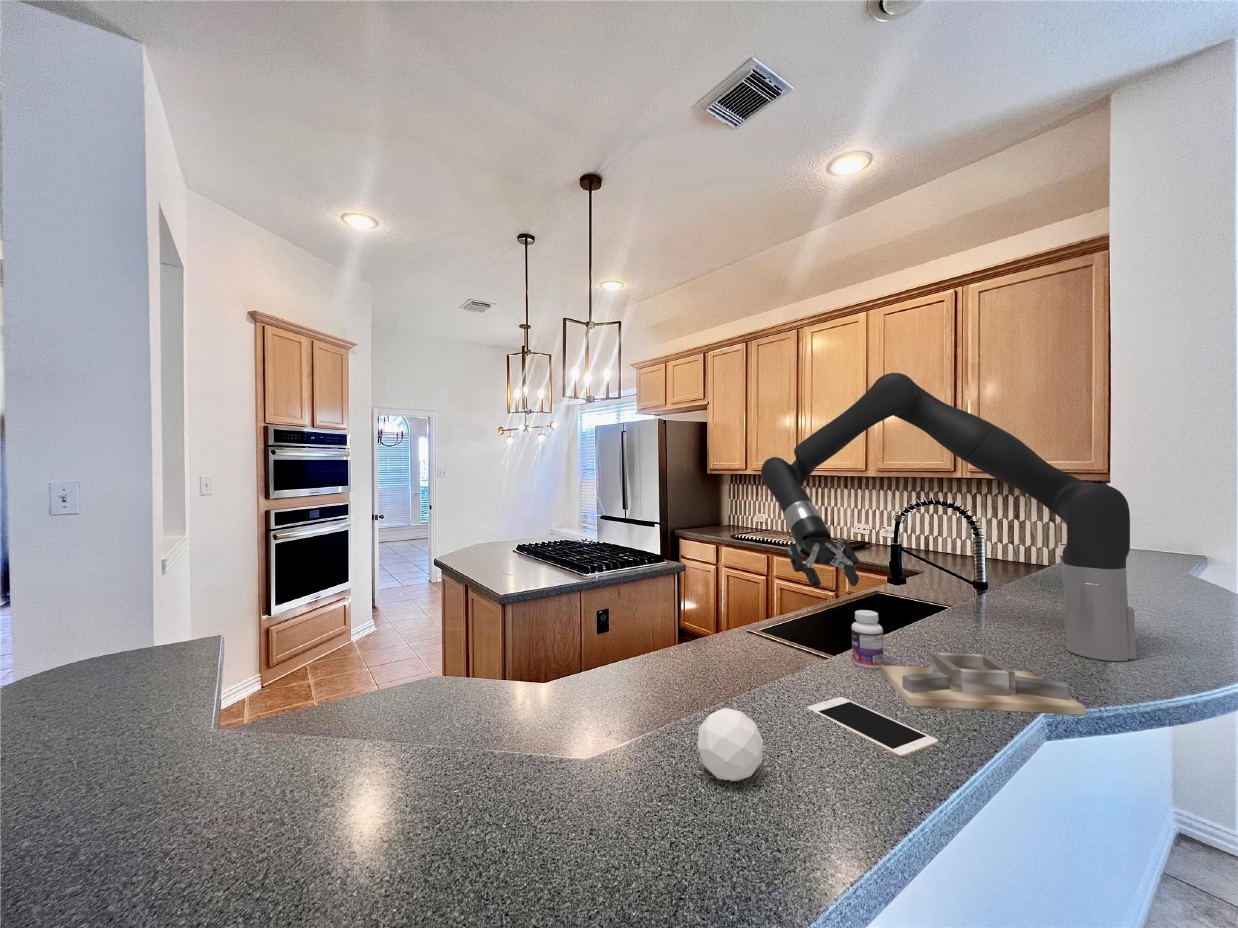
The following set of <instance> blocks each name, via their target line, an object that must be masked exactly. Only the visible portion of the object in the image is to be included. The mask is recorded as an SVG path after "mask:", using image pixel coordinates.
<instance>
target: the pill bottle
mask: <svg viewBox="0 0 1238 928" xmlns="http://www.w3.org/2000/svg"><path fill="white" fill-rule="evenodd" d="M854 619H855V620H856V621H854V622H853V623H852V624H851V649H852V651H851V653H852V654H851V655H852V656H851V657H852V662H853V664H854V665H855V666H857V667H860V668H864V669H869V670H870V669H871V670H876V669H880V666H885V660H884V659H885V657H884V655H885V654H884V652H885V651H884V629H883V627H882V625H880V623H878V622H879V619H880V618H879V613H878V612H876V611H873V610H867V609H865V610H864V609H859V610H858V609H857V610H856V611H854Z"/></svg>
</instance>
